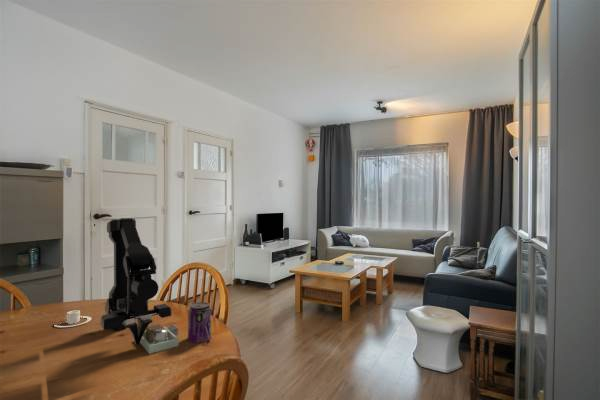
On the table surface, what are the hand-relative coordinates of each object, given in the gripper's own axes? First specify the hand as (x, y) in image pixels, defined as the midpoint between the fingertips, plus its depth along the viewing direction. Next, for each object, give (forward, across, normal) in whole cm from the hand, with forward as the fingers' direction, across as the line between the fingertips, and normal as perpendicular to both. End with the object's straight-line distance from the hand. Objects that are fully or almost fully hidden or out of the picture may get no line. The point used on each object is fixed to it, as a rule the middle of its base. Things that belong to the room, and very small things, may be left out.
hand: (137, 344), depth 98 cm
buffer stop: (+2, -12, -5) cm, 14 cm away
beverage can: (+2, -18, +5) cm, 18 cm away
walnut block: (+1, -6, -4) cm, 7 cm away
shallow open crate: (+2, -6, 0) cm, 6 cm away
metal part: (+1, -6, +2) cm, 7 cm away
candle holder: (+3, +12, -43) cm, 45 cm away
